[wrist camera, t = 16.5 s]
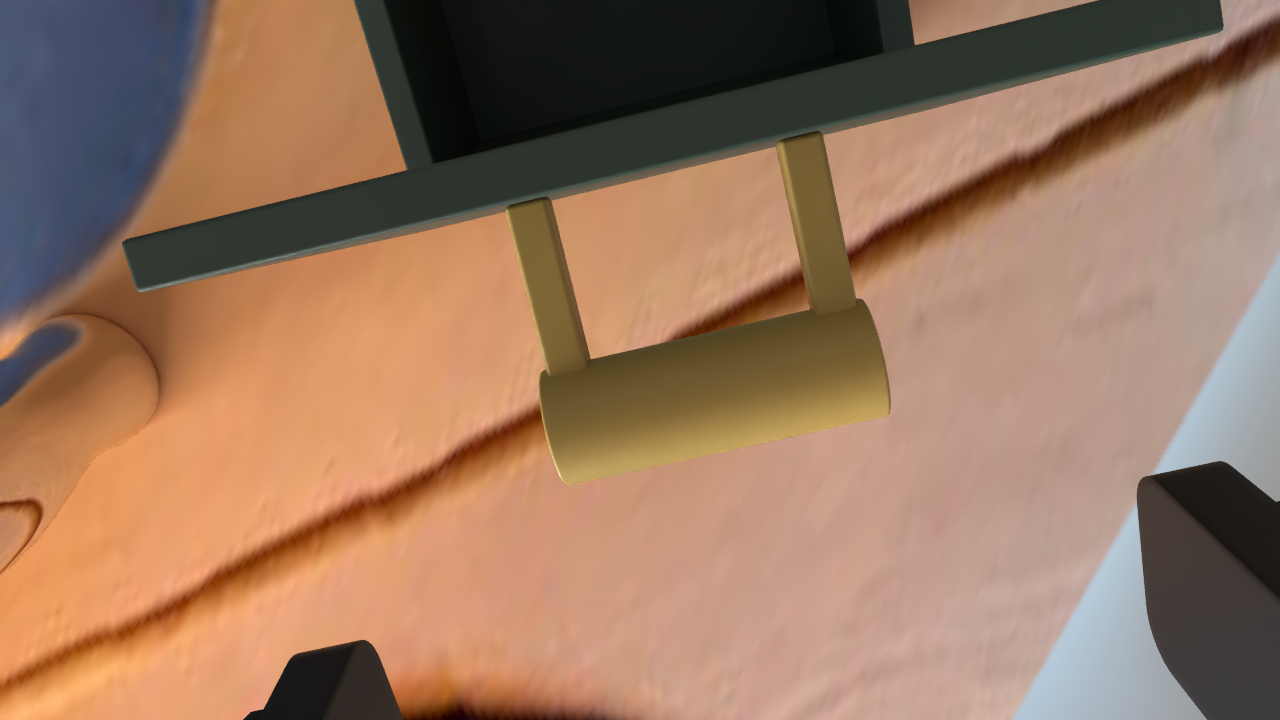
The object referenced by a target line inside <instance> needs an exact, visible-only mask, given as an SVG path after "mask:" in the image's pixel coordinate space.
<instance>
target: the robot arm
mask: <svg viewBox="0 0 1280 720" xmlns="http://www.w3.org/2000/svg"><path fill="white" fill-rule="evenodd" d="M1137 507H1138V519H1139V530H1140V539H1141V540H1140V541H1141V552H1142V563H1143V574H1144V585H1145V596H1146V606H1147V614H1148V619H1149V623H1150V627H1151V631H1152V634H1153V637H1154V640H1155V642H1156V645H1157V648H1158V650H1159V652H1160V654H1161V656H1162V658H1163V660H1164V662H1165V664H1166V666H1167V667H1168V669H1169V671H1170V672H1171V674H1172V675H1173V676H1174V678H1175V679H1176V680H1177V681H1178V683H1179V684H1180V685H1181V687H1182V688H1183V689H1184V690H1185V692H1186V693H1187V694H1188V696H1189V697H1190V698H1191V699H1192V701H1193V702H1194V703H1195V705H1196V706H1197V707H1198V708H1199V710H1200V711H1201V712H1202V714H1203V715H1204V716H1205V717H1206V719H1207V720H1280V501H1278V502H1275V501H1274V500H1273V499H1271V498H1270V497H1269V496H1268V495H1267V494H1265V493H1264V492H1263V491H1262V490H1260V489H1259V488H1258V487H1257V486H1255V485H1254V484H1253V483H1252V482H1251V481H1249V480H1248V479H1247V478H1245V477H1244V476H1243V475H1242V474H1240V473H1239V472H1238V471H1237V470H1236V469H1234V468H1233V467H1232V466H1230V465H1229V464H1227V463H1225V462H1222V461H1218V462H1212V463H1208V464H1203V465H1198V466H1193V467H1189V468H1184V469H1179V470H1176V471H1170V472H1165V473H1160V474H1156V475H1151V476H1146V477H1143V478H1142V479H1141V480H1140V482H1139V484H1138V489H1137ZM243 720H403V717H402V715H401V712H400V709H399V707H398V704H397V702H396V699H395V696H394V694H393V691H392V689H391V686H390V683H389V681H388V678H387V676H386V673H385V671H384V668H383V665H382V663H381V660H380V658H379V656H378V653H377V652H376V650H375V648H374V647H373V646H372V644H370V643H369V642H368V641H366V640H359V641H355V642H350V643H345V644H340V645H336V646H331V647H326V648H321V649H317V650H312V651H307V652H302V653H298V654H296V655H294V656H293V657H292V658H291V659H290V660H289V662H288V663H287V665H286V667H285V669H284V671H283V673H282V675H281V677H280V679H279V681H278V683H277V684H276V686H275V688H274V690H273V692H272V694H271V696H270V698H269V700H268V702H267V704H266V706H265V708H264V709H263V710H258V711H253V712H250V713H249V714H248V715H247V716H246V717H245V718H244V719H243Z"/></svg>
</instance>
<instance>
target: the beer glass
mask: <svg viewBox="0 0 1280 720" xmlns="http://www.w3.org/2000/svg"><path fill="white" fill-rule="evenodd" d="M158 400H159V381H158V376H157V373H156V370H155V367H154V365H153V362H152V360H151V358H150V357H149V355H148V354H147V352H146V351H145V349H144V348H143V347H142V345H141V344H140V343H139V342H138V341H137V340H136V339H135V338H134V337H133V336H132V335H130V334H129V333H128V332H127V331H125V330H124V329H122V328H121V327H119V326H117V325H116V324H114V323H112V322H109V321H107V320H104V319H102V318H98V317H95V316H90V315H82V314H70V315H62V316H58V317H54V318H51V319H48V320H46V321H44V322H42V323H40V324H38V325H37V326H35V327H34V328H33V329H31V330H30V331H29V332H28V333H27V334H26V335H25V336H24V337H23V338H22V339H21V340H20V341H19V342H18V343H17V344H16V345H15V347H14V348H13V349H12V350H11V351H10V352H9V353H8V354H7V355H5V356H4V357H2V358H0V576H1V575H2V574H4V573H5V572H6V571H7V570H8V569H9V568H11V567H12V566H13V565H14V564H15V563H16V562H17V561H18V560H19V559H20V558H21V557H22V556H23V555H24V554H25V553H26V552H27V551H28V550H29V549H30V548H31V547H32V546H33V545H34V544H35V543H36V542H37V541H38V539H39V538H40V537H41V536H42V534H43V533H44V532H45V531H46V529H47V528H48V527H49V525H50V524H51V523H52V521H53V520H54V519H55V518H56V516H57V515H58V513H59V512H60V510H61V509H62V507H63V506H64V504H65V503H66V501H67V500H68V498H69V497H70V495H71V494H72V492H73V491H74V489H75V487H76V486H77V484H78V483H79V481H80V479H81V478H82V476H83V475H84V473H85V472H86V470H87V469H88V467H89V466H90V464H91V463H92V462H93V461H94V459H95V458H96V457H97V456H99V455H100V454H102V453H104V452H106V451H108V450H110V449H112V448H115V447H117V446H119V445H121V444H123V443H125V442H127V441H128V440H130V439H132V438H133V437H135V436H136V435H137V434H139V433H140V432H141V431H142V430H143V429H144V428H145V427H146V426H147V425H148V423H149V422H150V420H151V419H152V417H153V415H154V413H155V411H156V408H157V405H158Z"/></svg>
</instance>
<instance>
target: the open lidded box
mask: <svg viewBox="0 0 1280 720" xmlns="http://www.w3.org/2000/svg"><path fill="white" fill-rule="evenodd" d="M354 3H355V6H356V9H357V13H358V16H359V19H360V22H361V25H362V29H363V32H364V35H365V38H366V41H367V44H368V48H369V51H370V54H371V57H372V60H373V63H374V67H375V70H376V73H377V76H378V79H379V82H380V86H381V89H382V92H383V95H384V98H385V101H386V105H387V108H388V111H389V114H390V117H391V120H392V124H393V127H394V130H395V133H396V136H397V139H398V143H399V146H400V149H401V152H402V155H403V159H404V162H405V165H406V168H407V170H410V169H414V168H418V167H423V166H427V165H431V164H435V163H439V162H443V161H447V160H451V159H455V158H459V157H463V156H467V155H471V154H475V153H479V152H484V151H488V150H492V149H496V148H500V147H504V146H508V145H512V144H516V143H520V142H524V141H528V140H532V139H536V138H541V137H545V136H549V135H553V134H557V133H561V132H565V131H569V130H573V129H577V128H581V127H585V126H589V125H593V124H598V123H602V122H606V121H610V120H614V119H618V118H622V117H626V116H630V115H634V114H638V113H642V112H646V111H650V110H654V109H659V108H663V107H667V106H671V105H675V104H679V103H683V102H687V101H691V100H695V99H699V98H703V97H707V96H711V95H716V94H720V93H724V92H728V91H732V90H736V89H740V88H744V87H748V86H752V85H756V84H760V83H764V82H768V81H772V80H777V79H781V78H785V77H789V76H793V75H797V74H801V73H805V72H809V71H813V70H817V69H821V68H825V67H829V66H834V65H838V64H842V63H846V62H850V61H854V60H858V59H862V58H866V57H870V56H874V55H878V54H882V53H886V52H891V51H895V50H899V49H903V48H907V47H911V46H915V44H914V37H913V30H912V23H911V16H910V9H909V2H908V0H354Z"/></svg>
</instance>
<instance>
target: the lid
mask: <svg viewBox="0 0 1280 720" xmlns="http://www.w3.org/2000/svg"><path fill="white" fill-rule="evenodd" d="M1223 26H1224V25H1223V18H1222V11H1221V4H1220V0H1098V1H1094V2H1090V3H1086V4H1082V5H1078V6H1074V7H1070V8H1066V9H1061V10H1057V11H1053V12H1049V13H1045V14H1041V15H1037V16H1033V17H1029V18H1025V19H1021V20H1017V21H1013V22H1009V23H1004V24H1000V25H996V26H992V27H988V28H984V29H980V30H976V31H972V32H968V33H964V34H960V35H956V36H952V37H947V38H943V39H939V40H935V41H931V42H927V43H923V44H919V45H915V46H911V47H907V48H903V49H899V50H895V51H891V52H886V53H882V54H878V55H874V56H870V57H866V58H862V59H858V60H854V61H850V62H846V63H842V64H838V65H834V66H829V67H825V68H821V69H817V70H813V71H809V72H805V73H801V74H797V75H793V76H789V77H785V78H781V79H777V80H772V81H768V82H764V83H760V84H756V85H752V86H748V87H744V88H740V89H736V90H732V91H728V92H724V93H720V94H716V95H711V96H707V97H703V98H699V99H695V100H691V101H687V102H683V103H679V104H675V105H671V106H667V107H663V108H659V109H654V110H650V111H646V112H642V113H638V114H634V115H630V116H626V117H622V118H618V119H614V120H610V121H606V122H602V123H598V124H593V125H589V126H585V127H581V128H577V129H573V130H569V131H565V132H561V133H557V134H553V135H549V136H545V137H541V138H536V139H532V140H528V141H524V142H520V143H516V144H512V145H508V146H504V147H500V148H496V149H492V150H488V151H484V152H479V153H475V154H471V155H467V156H463V157H459V158H455V159H451V160H447V161H443V162H439V163H435V164H431V165H427V166H423V167H418V168H414V169H410V170H406V171H402V172H398V173H394V174H390V175H386V176H382V177H378V178H374V179H370V180H366V181H361V182H357V183H353V184H349V185H345V186H341V187H337V188H333V189H329V190H325V191H321V192H317V193H313V194H309V195H304V196H300V197H296V198H292V199H288V200H284V201H280V202H276V203H272V204H268V205H264V206H260V207H256V208H252V209H248V210H243V211H239V212H235V213H231V214H227V215H223V216H219V217H215V218H211V219H207V220H203V221H199V222H195V223H191V224H186V225H182V226H178V227H174V228H170V229H166V230H162V231H158V232H154V233H150V234H146V235H142V236H138V237H134V238H129V239H126V240H125V241H123V242H122V246H123V250H124V253H125V256H126V259H127V262H128V265H129V268H130V272H131V275H132V278H133V281H134V284H135V287H136V289H137V291H139V292H147V291H151V290H156V289H161V288H165V287H170V286H174V285H179V284H183V283H188V282H193V281H197V280H202V279H206V278H211V277H216V276H220V275H225V274H229V273H234V272H239V271H243V270H248V269H252V268H257V267H262V266H266V265H271V264H275V263H280V262H285V261H289V260H294V259H298V258H303V257H308V256H312V255H317V254H321V253H326V252H330V251H335V250H340V249H344V248H349V247H353V246H358V245H363V244H367V243H372V242H376V241H381V240H386V239H390V238H395V237H399V236H404V235H409V234H413V233H418V232H422V231H427V230H431V229H435V228H439V227H443V226H447V225H452V224H456V223H460V222H464V221H468V220H472V219H476V218H481V217H485V216H489V215H493V214H497V213H501V212H506V216H507V220H508V224H509V227H510V231H511V235H512V239H513V243H514V247H515V251H516V255H517V259H518V263H519V267H520V270H521V274H522V278H523V282H524V286H525V290H526V294H527V298H528V302H529V306H530V310H531V313H532V317H533V321H534V325H535V329H536V333H537V337H538V341H539V345H540V349H541V353H542V356H543V360H544V364H545V368H546V370H544V371H542V372H541V374H540V379H539V397H540V406H541V413H542V419H543V424H544V429H545V434H546V438H547V442H548V446H549V449H550V453H551V456H552V459H553V462H554V465H555V467H556V470H557V472H558V474H559V476H560V478H561V479H562V481H563V482H564V484H566V485H574V484H578V483H583V482H588V481H592V480H597V479H601V478H606V477H610V476H615V475H620V474H624V473H629V472H633V471H638V470H642V469H647V468H652V467H656V466H661V465H665V464H670V463H675V462H679V461H684V460H688V459H693V458H697V457H702V456H707V455H711V454H716V453H720V452H725V451H729V450H734V449H739V448H743V447H748V446H752V445H757V444H761V443H766V442H771V441H775V440H780V439H784V438H789V437H793V436H798V435H803V434H807V433H812V432H816V431H821V430H825V429H830V428H835V427H839V426H844V425H848V424H853V423H857V422H862V421H867V420H871V419H876V418H880V417H885V416H887V415H888V414H889V413H890V406H891V399H890V388H889V381H888V375H887V370H886V365H885V360H884V356H883V351H882V347H881V343H880V340H879V336H878V333H877V330H876V326H875V323H874V321H873V318H872V315H871V313H870V311H869V308H868V307H867V305H866V303H865V302H864V301H863V300H862V299H856V296H855V291H854V286H853V281H852V276H851V271H850V266H849V261H848V257H847V252H846V247H845V242H844V237H843V232H842V227H841V222H840V217H839V212H838V207H837V202H836V198H835V193H834V188H833V183H832V178H831V173H830V168H829V163H828V158H827V153H826V148H825V143H824V139H823V135H825V134H830V133H834V132H838V131H842V130H846V129H850V128H855V127H859V126H863V125H867V124H871V123H875V122H879V121H884V120H888V119H892V118H896V117H900V116H904V115H909V114H913V113H917V112H921V111H925V110H929V109H933V108H937V107H940V106H944V105H948V104H952V103H956V102H959V101H963V100H967V99H971V98H974V97H978V96H982V95H986V94H990V93H993V92H997V91H1001V90H1005V89H1008V88H1012V87H1016V86H1020V85H1024V84H1027V83H1031V82H1035V81H1039V80H1042V79H1046V78H1050V77H1054V76H1057V75H1061V74H1065V73H1069V72H1073V71H1076V70H1080V69H1084V68H1088V67H1091V66H1095V65H1099V64H1103V63H1107V62H1110V61H1114V60H1118V59H1122V58H1125V57H1129V56H1133V55H1137V54H1141V53H1144V52H1148V51H1152V50H1156V49H1159V48H1163V47H1167V46H1171V45H1175V44H1178V43H1182V42H1186V41H1190V40H1193V39H1197V38H1201V37H1205V36H1209V35H1212V34H1216V33H1219V32H1220V31H1222V30H1223ZM771 147H776V148H777V153H778V158H779V162H780V167H781V172H782V177H783V181H784V186H785V191H786V195H787V200H788V205H789V210H790V214H791V219H792V224H793V229H794V233H795V238H796V243H797V248H798V252H799V257H800V262H801V267H802V271H803V276H804V281H805V286H806V290H807V295H808V300H809V304H810V310H806V311H802V312H797V313H793V314H788V315H784V316H780V317H775V318H771V319H766V320H762V321H758V322H753V323H749V324H744V325H740V326H736V327H731V328H727V329H723V330H718V331H714V332H709V333H705V334H701V335H696V336H692V337H687V338H683V339H679V340H674V341H670V342H665V343H661V344H657V345H652V346H648V347H644V348H639V349H635V350H630V351H626V352H622V353H617V354H613V355H608V356H604V357H600V358H595V359H590V355H589V351H588V347H587V343H586V339H585V335H584V331H583V327H582V323H581V319H580V315H579V311H578V306H577V302H576V298H575V294H574V290H573V286H572V282H571V278H570V274H569V270H568V266H567V262H566V258H565V254H564V250H563V246H562V242H561V238H560V234H559V230H558V226H557V222H556V218H555V214H554V210H553V206H552V202H551V200H555V199H560V198H564V197H568V196H572V195H576V194H580V193H584V192H589V191H593V190H597V189H601V188H605V187H609V186H614V185H618V184H622V183H626V182H630V181H634V180H638V179H643V178H647V177H651V176H655V175H659V174H663V173H668V172H672V171H676V170H680V169H684V168H688V167H693V166H697V165H701V164H705V163H709V162H713V161H717V160H722V159H726V158H730V157H734V156H738V155H742V154H747V153H751V152H755V151H759V150H763V149H767V148H771Z"/></svg>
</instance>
